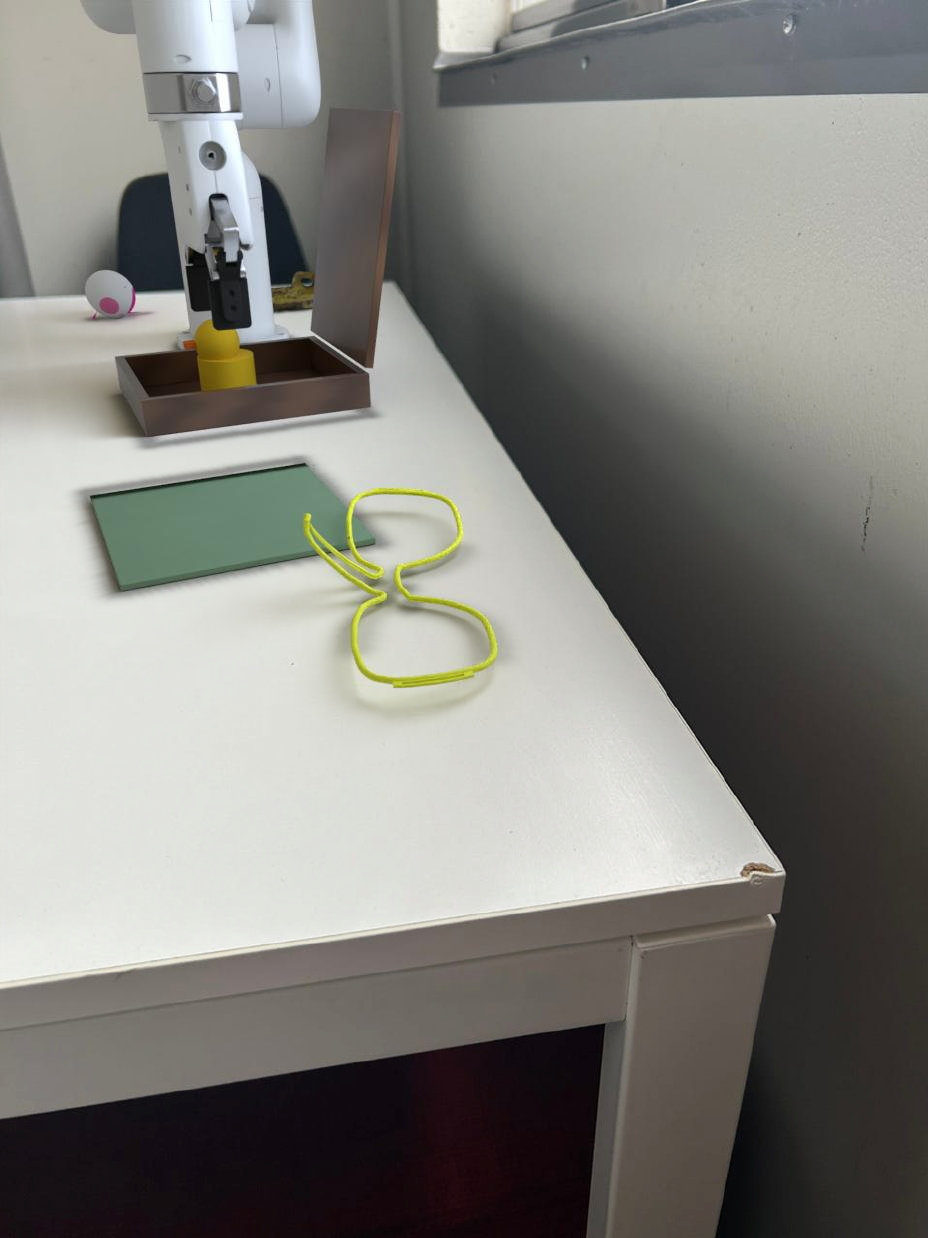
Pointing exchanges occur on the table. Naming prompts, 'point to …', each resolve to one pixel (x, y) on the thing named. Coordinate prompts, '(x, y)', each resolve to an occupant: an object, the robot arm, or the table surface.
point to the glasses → (399, 681)
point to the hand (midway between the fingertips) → (220, 318)
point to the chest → (286, 387)
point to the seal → (294, 293)
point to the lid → (354, 228)
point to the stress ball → (110, 294)
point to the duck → (221, 358)
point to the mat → (220, 524)
